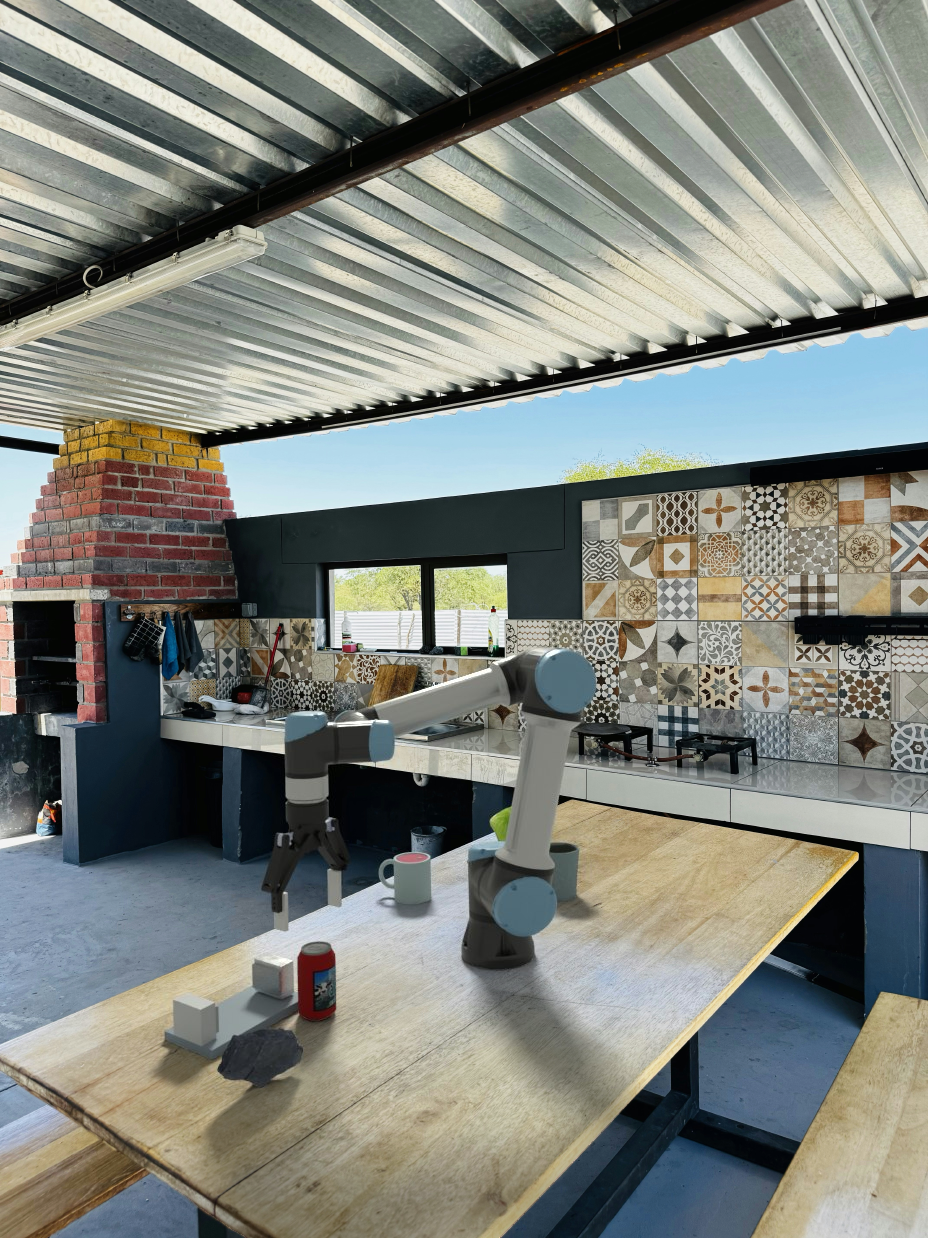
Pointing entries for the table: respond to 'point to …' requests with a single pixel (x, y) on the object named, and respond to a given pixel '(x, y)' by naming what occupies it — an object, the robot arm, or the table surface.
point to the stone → (260, 1055)
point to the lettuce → (501, 823)
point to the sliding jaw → (273, 975)
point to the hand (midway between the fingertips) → (309, 917)
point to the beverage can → (316, 981)
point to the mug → (409, 877)
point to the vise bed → (224, 1019)
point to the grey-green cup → (564, 870)
